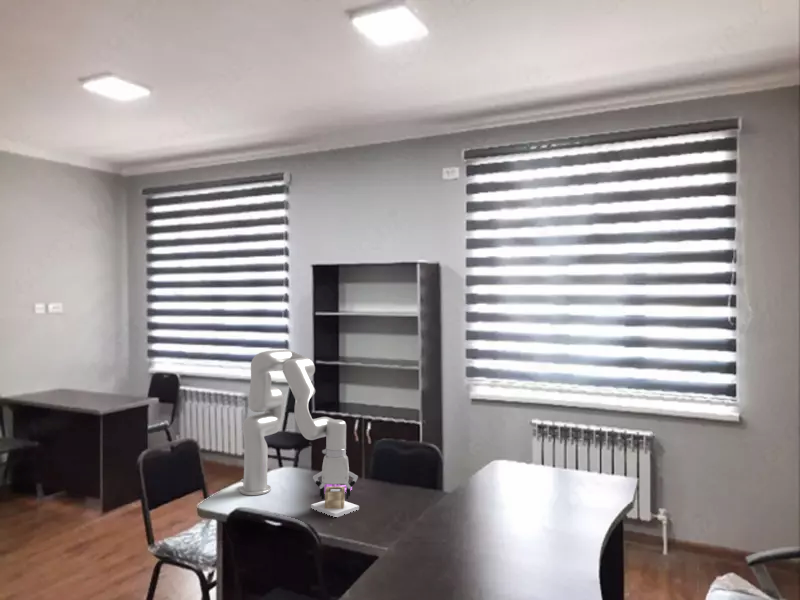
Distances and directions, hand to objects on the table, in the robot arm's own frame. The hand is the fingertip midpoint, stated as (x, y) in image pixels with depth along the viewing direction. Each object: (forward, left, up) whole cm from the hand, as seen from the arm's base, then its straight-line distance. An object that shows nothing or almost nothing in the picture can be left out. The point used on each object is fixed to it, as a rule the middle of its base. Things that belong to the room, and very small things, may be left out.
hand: (335, 498), depth 216 cm
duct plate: (0, 0, -4) cm, 4 cm away
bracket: (-14, +15, -5) cm, 21 cm away
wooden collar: (0, 0, -3) cm, 3 cm away
